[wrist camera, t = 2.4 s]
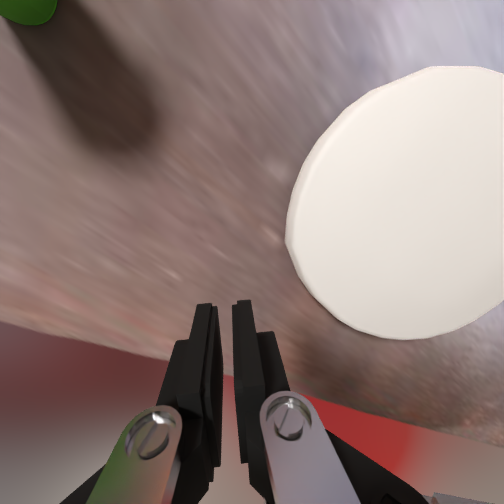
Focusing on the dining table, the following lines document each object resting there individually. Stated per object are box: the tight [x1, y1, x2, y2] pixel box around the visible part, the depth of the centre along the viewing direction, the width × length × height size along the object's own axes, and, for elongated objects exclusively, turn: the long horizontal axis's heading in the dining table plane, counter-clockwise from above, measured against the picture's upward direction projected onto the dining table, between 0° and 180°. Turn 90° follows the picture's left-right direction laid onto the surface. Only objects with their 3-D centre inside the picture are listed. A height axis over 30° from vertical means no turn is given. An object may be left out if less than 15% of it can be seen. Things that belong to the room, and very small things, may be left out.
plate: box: [285, 66, 504, 340], centre depth 24 cm, size 28×6×27 cm
